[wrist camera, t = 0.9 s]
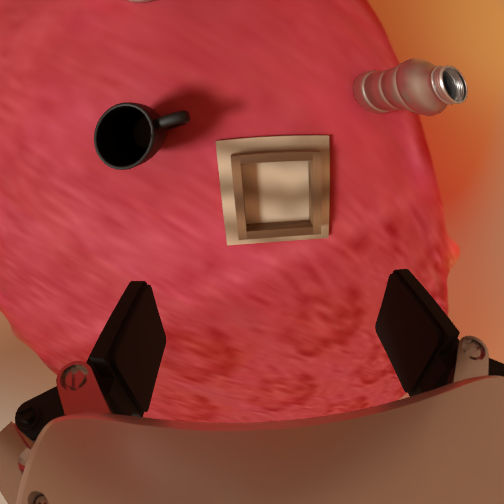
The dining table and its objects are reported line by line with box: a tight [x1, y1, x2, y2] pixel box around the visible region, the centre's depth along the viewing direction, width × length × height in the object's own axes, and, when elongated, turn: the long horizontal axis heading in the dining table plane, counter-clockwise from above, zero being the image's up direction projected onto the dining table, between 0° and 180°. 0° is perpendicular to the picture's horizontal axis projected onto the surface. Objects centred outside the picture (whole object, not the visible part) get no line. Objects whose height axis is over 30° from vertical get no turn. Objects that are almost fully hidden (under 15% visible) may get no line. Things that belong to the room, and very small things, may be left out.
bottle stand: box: [216, 135, 330, 245], centre depth 38 cm, size 16×16×4 cm
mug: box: [94, 103, 190, 170], centre depth 31 cm, size 8×12×10 cm
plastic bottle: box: [353, 58, 468, 116], centre depth 24 cm, size 6×7×20 cm
